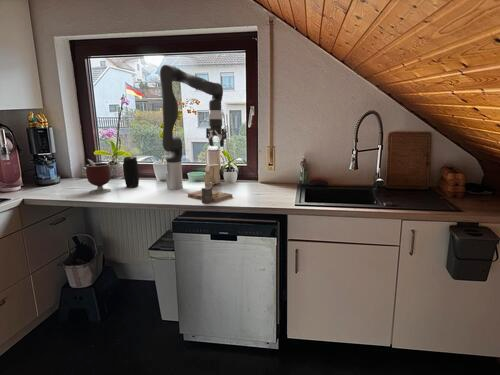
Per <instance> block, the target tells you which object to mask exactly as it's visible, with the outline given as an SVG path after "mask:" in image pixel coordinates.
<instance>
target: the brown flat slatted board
mask: <svg viewBox="0 0 500 375" xmlns="http://www.w3.org/2000/svg"><path fill="white" fill-rule="evenodd" d="M216 192H217V193H219V195H217V196H213V197H212V198H213V203H218V202H222V201H225V200H229V199H233V194H232V193H229V192H228V193H227V192H222V191H217V190H212V193H216ZM187 198H191V199H196V200H201V201H202V189H200V190H197V191H196V190H195V191H193V192H189V193H187Z"/></svg>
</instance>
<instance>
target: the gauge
mask: <svg viewBox="0 0 500 375" xmlns="http://www.w3.org/2000/svg"><path fill="white" fill-rule="evenodd" d="M201 190H202V200H201V203H202V204H207V205H209V204H211V203H214V202H213V198H212V197H213V196H217V195H219V193H217V192H218V191H217V192H216V193H212V191H213V187H211V188H208V187H206V188H205V187H202V188H201Z"/></svg>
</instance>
